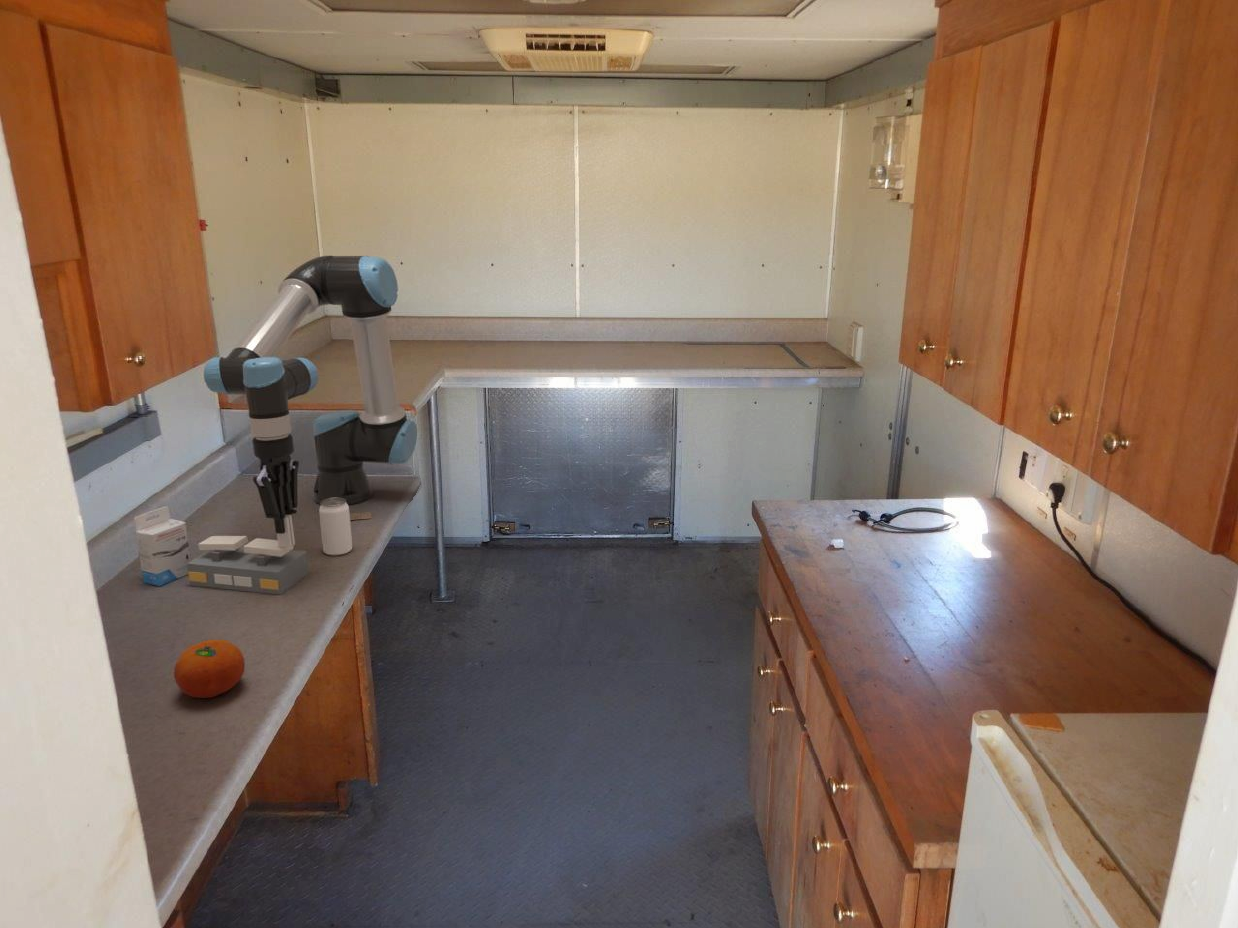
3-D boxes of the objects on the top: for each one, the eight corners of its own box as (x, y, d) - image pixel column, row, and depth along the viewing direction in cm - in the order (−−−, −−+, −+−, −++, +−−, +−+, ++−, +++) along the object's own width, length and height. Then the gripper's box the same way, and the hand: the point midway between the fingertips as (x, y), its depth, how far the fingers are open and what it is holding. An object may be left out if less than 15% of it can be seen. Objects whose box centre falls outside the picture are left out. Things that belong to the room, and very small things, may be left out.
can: (343, 557, 198) (339, 507, 194) (317, 554, 199) (312, 505, 195) (357, 546, 204) (353, 498, 200) (332, 544, 205) (327, 495, 201)
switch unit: (222, 564, 193) (218, 535, 191) (309, 572, 190) (306, 543, 187) (189, 585, 183) (184, 555, 181) (280, 595, 179) (276, 564, 177)
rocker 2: (257, 548, 186) (256, 538, 186) (294, 552, 185) (292, 542, 184) (244, 556, 182) (243, 546, 181) (281, 561, 181) (280, 550, 180)
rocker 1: (214, 546, 189) (212, 535, 188) (249, 546, 187) (246, 535, 186) (200, 554, 184) (198, 544, 184) (236, 554, 182) (233, 544, 182)
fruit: (196, 673, 150) (189, 631, 148) (256, 672, 150) (251, 631, 148) (166, 708, 140) (158, 664, 138) (231, 708, 140) (225, 664, 138)
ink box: (158, 587, 182) (147, 521, 178) (142, 582, 184) (131, 517, 180) (193, 572, 190) (184, 508, 185) (178, 568, 192) (168, 504, 187)
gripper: (274, 427, 182) (288, 533, 189) (234, 443, 169) (251, 556, 176) (306, 428, 181) (320, 535, 187) (269, 444, 168) (285, 558, 175)
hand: (286, 545), depth 182 cm, fingers closed, pressing on rocker 2
